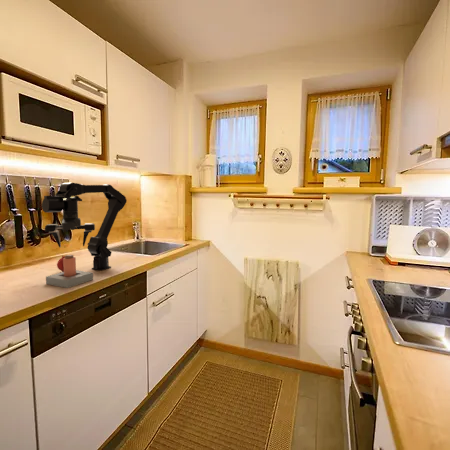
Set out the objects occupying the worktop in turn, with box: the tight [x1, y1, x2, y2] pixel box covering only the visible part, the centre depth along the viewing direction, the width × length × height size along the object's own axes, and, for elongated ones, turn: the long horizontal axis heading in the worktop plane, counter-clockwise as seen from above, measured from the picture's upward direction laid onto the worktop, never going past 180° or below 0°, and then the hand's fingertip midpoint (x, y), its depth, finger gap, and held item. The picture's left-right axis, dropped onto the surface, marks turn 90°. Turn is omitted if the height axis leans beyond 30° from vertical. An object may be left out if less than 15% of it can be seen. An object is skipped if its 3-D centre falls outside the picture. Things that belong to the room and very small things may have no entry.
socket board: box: [45, 269, 94, 289], centre depth 112 cm, size 12×12×3 cm
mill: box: [63, 254, 77, 277], centre depth 111 cm, size 4×4×11 cm
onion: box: [56, 254, 66, 272], centre depth 125 cm, size 6×6×8 cm
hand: (71, 246), depth 119 cm, fingers open, 9 cm apart
